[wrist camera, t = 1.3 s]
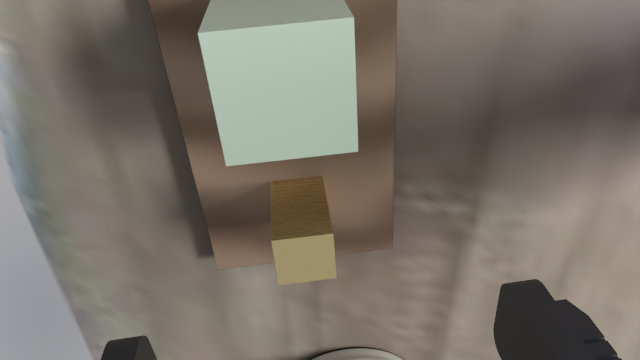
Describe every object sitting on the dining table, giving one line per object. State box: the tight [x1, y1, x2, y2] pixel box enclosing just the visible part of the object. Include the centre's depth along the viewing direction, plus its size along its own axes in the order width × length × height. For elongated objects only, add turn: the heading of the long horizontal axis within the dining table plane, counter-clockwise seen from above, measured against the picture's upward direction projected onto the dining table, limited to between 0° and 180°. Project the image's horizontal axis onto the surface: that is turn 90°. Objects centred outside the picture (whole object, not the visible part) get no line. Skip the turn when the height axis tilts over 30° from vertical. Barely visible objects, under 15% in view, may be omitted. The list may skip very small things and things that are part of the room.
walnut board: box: [148, 0, 397, 269], centre depth 28 cm, size 20×12×2 cm, turn 4°
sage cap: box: [198, 0, 358, 166], centre depth 22 cm, size 6×6×7 cm
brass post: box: [270, 176, 337, 285], centre depth 28 cm, size 3×3×6 cm
